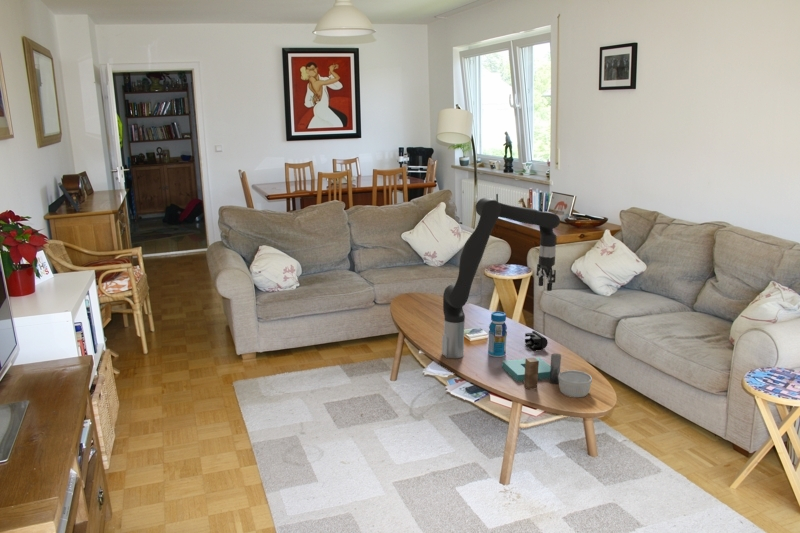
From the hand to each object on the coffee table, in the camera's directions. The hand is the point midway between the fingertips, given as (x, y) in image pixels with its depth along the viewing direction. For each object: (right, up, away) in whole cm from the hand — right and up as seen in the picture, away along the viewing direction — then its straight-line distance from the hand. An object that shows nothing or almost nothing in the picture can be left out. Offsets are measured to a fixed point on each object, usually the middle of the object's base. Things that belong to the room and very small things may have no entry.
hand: (544, 288), depth 315 cm
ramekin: (+3, -41, -42) cm, 59 cm away
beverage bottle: (-23, -31, -3) cm, 39 cm away
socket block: (-12, -36, -23) cm, 45 cm away
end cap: (-3, -29, +6) cm, 30 cm away
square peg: (-14, -40, -38) cm, 57 cm away
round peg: (-3, -38, -33) cm, 51 cm away
